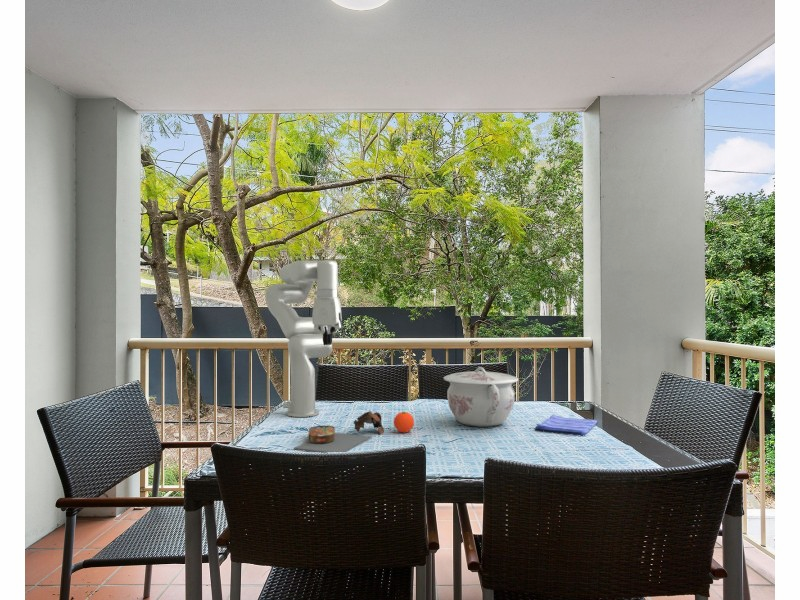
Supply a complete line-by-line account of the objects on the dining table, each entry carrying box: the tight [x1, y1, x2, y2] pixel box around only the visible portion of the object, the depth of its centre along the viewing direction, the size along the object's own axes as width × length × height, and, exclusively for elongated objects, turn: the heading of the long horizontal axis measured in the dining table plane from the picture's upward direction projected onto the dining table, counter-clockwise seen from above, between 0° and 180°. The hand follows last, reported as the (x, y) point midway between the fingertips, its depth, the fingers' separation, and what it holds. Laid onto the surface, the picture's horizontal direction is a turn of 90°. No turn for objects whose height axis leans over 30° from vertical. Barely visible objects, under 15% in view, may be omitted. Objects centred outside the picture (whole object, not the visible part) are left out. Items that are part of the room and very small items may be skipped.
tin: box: [307, 425, 336, 443], centre depth 190 cm, size 15×3×8 cm
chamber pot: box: [443, 366, 519, 428], centre depth 214 cm, size 28×28×21 cm
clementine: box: [393, 411, 415, 433], centre depth 201 cm, size 8×7×7 cm
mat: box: [293, 432, 373, 453], centre depth 185 cm, size 16×22×1 cm
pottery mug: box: [353, 410, 385, 435], centre depth 201 cm, size 12×10×8 cm
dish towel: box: [534, 414, 598, 437], centre depth 208 cm, size 17×24×3 cm
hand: (327, 344), depth 212 cm, fingers closed
